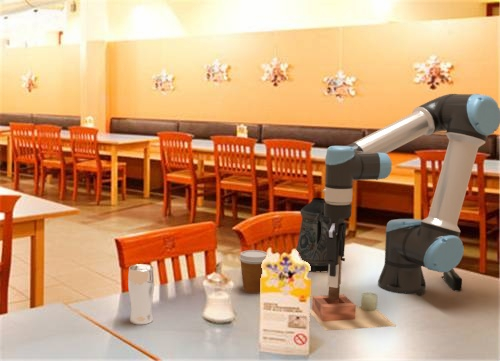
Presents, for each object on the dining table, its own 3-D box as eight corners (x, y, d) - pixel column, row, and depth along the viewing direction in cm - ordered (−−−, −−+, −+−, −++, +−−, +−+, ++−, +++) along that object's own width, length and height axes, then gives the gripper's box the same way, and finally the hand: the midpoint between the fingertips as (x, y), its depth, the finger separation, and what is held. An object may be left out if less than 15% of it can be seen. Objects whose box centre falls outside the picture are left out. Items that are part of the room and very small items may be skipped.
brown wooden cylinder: (336, 296, 176) (338, 254, 174) (340, 299, 173) (342, 257, 171) (326, 296, 175) (328, 255, 173) (330, 300, 172) (332, 258, 171)
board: (372, 308, 183) (373, 292, 182) (396, 329, 167) (397, 311, 166) (307, 312, 178) (307, 295, 178) (325, 333, 163) (326, 315, 162)
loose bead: (372, 305, 183) (373, 292, 182) (379, 310, 179) (379, 297, 178) (358, 306, 182) (359, 293, 181) (364, 311, 178) (365, 298, 177)
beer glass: (158, 318, 172) (158, 265, 169) (146, 327, 165) (146, 272, 163) (136, 314, 174) (136, 262, 172) (123, 323, 167) (123, 269, 165)
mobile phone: (464, 277, 200) (449, 263, 215) (454, 277, 200) (440, 263, 215) (462, 292, 201) (447, 277, 216) (453, 292, 201) (439, 277, 216)
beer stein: (316, 257, 238) (318, 193, 235) (353, 269, 223) (357, 201, 220) (283, 264, 228) (285, 197, 225) (321, 277, 213) (323, 205, 209)
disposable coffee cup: (265, 296, 192) (266, 258, 190) (235, 293, 194) (236, 256, 192) (270, 287, 201) (271, 251, 199) (241, 284, 203) (242, 248, 201)
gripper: (332, 197, 179) (328, 276, 182) (316, 205, 164) (313, 291, 168) (357, 199, 176) (354, 279, 179) (344, 208, 162) (340, 295, 165)
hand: (334, 285), depth 173 cm, fingers closed on brown wooden cylinder, 2 cm apart
